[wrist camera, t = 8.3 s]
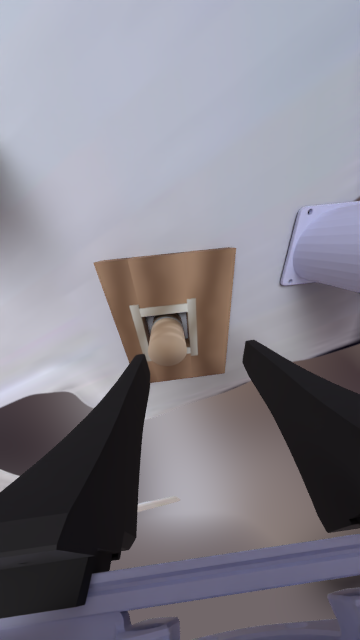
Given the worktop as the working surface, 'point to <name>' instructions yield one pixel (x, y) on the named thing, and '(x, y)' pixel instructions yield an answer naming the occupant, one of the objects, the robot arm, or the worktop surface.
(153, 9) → the worktop surface
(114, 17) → the worktop surface
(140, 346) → the socket board
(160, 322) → the peg
